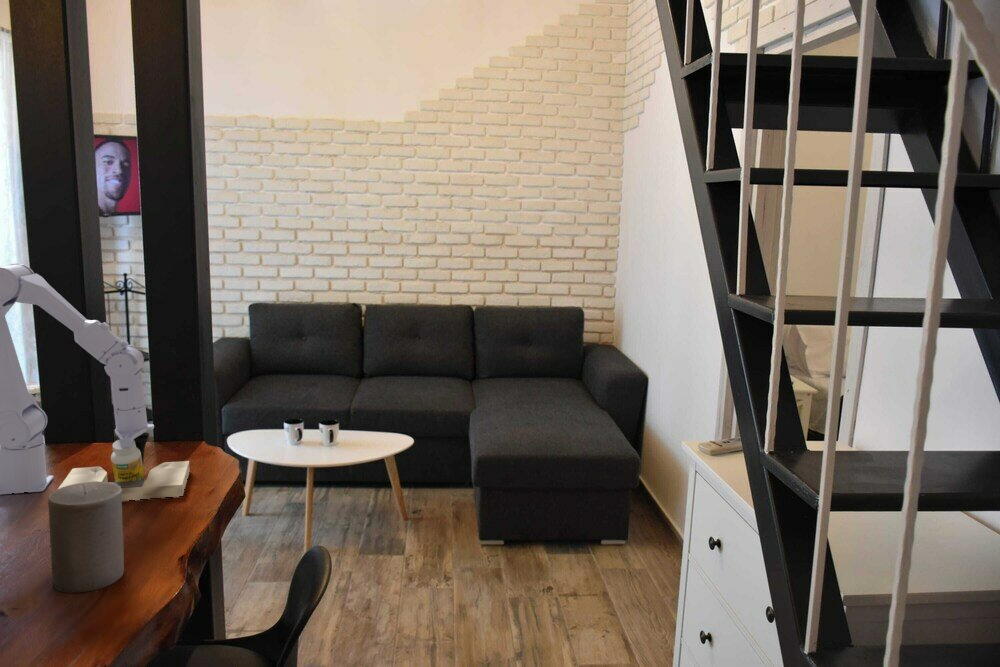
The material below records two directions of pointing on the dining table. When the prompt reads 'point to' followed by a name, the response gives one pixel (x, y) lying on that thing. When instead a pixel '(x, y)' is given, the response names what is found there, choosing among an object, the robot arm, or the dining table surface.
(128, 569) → the dining table surface
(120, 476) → the supplement bottle
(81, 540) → the pillar candle
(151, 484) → the jig block
